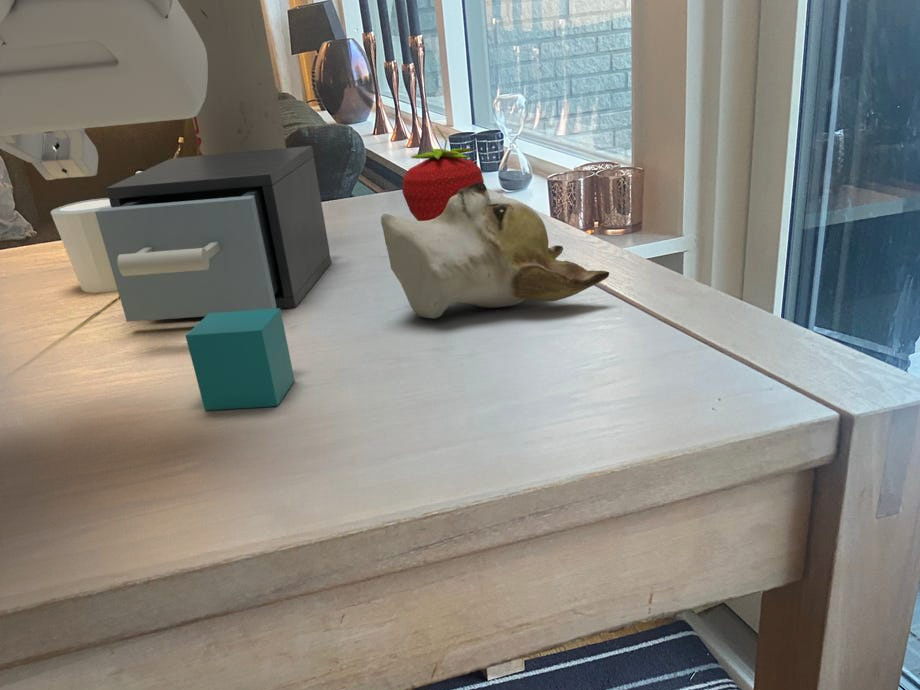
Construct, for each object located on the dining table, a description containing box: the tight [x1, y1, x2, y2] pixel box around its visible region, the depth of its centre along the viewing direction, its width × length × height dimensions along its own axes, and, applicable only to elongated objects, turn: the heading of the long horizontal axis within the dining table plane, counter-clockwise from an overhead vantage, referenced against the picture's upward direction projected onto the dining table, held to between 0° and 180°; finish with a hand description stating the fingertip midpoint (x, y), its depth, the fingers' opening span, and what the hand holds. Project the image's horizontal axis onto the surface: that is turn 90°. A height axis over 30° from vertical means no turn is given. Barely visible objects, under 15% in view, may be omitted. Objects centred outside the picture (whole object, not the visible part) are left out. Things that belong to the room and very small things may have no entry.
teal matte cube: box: [185, 308, 295, 411], centre depth 57 cm, size 4×4×4 cm
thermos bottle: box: [178, 0, 287, 156], centre depth 86 cm, size 8×8×28 cm
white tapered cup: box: [50, 197, 118, 294], centre depth 84 cm, size 7×7×7 cm
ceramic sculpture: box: [380, 182, 610, 319], centre depth 68 cm, size 11×9×15 cm
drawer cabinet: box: [105, 145, 332, 310], centre depth 79 cm, size 15×13×10 cm
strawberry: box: [401, 125, 485, 221], centre depth 84 cm, size 6×8×10 cm
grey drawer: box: [95, 186, 282, 323], centre depth 73 cm, size 18×11×8 cm, turn 176°
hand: (73, 167), depth 54 cm, fingers closed
